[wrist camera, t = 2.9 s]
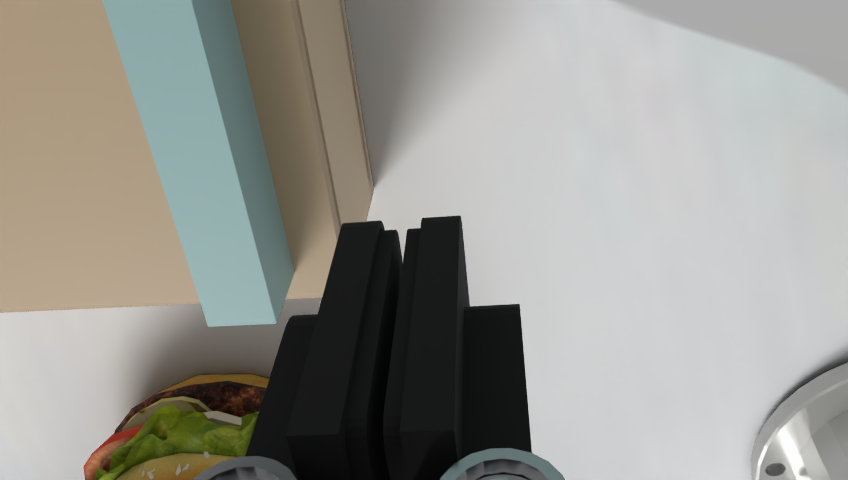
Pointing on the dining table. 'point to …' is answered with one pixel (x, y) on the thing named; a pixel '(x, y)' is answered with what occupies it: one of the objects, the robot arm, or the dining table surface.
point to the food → (182, 430)
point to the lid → (160, 158)
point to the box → (337, 106)
